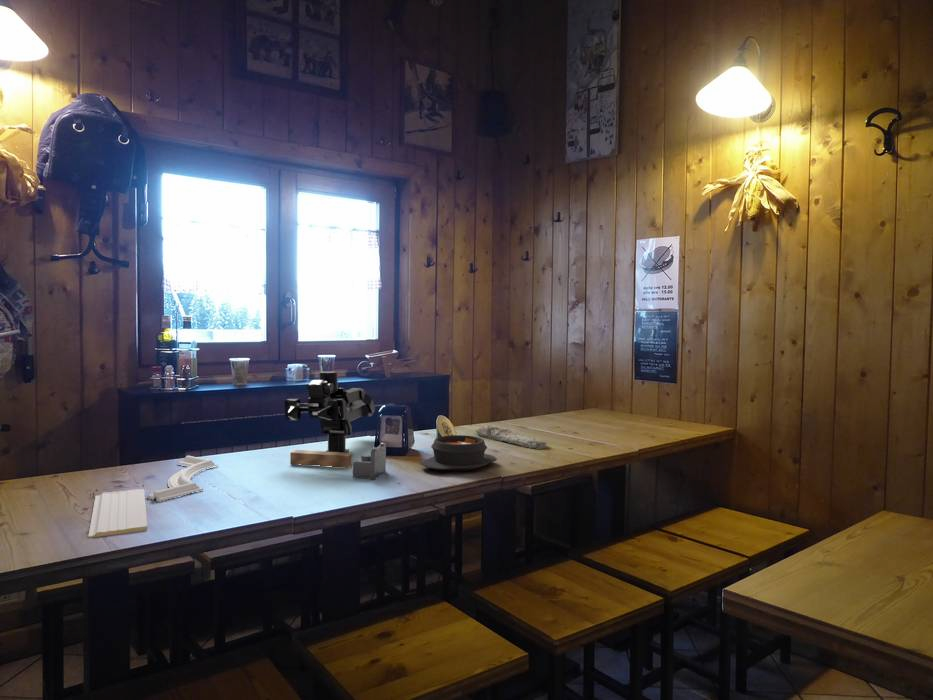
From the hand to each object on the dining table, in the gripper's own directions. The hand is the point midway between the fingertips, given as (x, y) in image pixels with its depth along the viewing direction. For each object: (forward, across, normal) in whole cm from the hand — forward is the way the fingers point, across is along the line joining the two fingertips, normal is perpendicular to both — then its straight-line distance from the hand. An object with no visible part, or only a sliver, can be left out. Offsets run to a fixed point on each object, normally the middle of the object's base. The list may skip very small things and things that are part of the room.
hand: (303, 414), depth 180 cm
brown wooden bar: (-8, +1, +17) cm, 19 cm away
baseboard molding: (+46, -24, +15) cm, 54 cm away
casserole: (-16, +42, +19) cm, 49 cm away
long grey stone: (-60, +52, +21) cm, 82 cm away
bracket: (0, +19, +17) cm, 26 cm away
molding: (+17, -29, +15) cm, 37 cm away
